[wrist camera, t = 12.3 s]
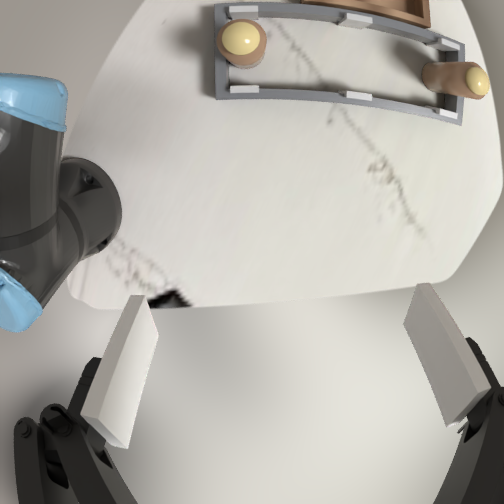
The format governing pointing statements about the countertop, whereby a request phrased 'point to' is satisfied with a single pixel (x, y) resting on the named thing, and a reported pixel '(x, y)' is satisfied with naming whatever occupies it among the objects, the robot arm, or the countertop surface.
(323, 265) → the countertop surface
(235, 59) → the cylinder
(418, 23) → the tray
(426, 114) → the holder
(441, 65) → the cylinder
